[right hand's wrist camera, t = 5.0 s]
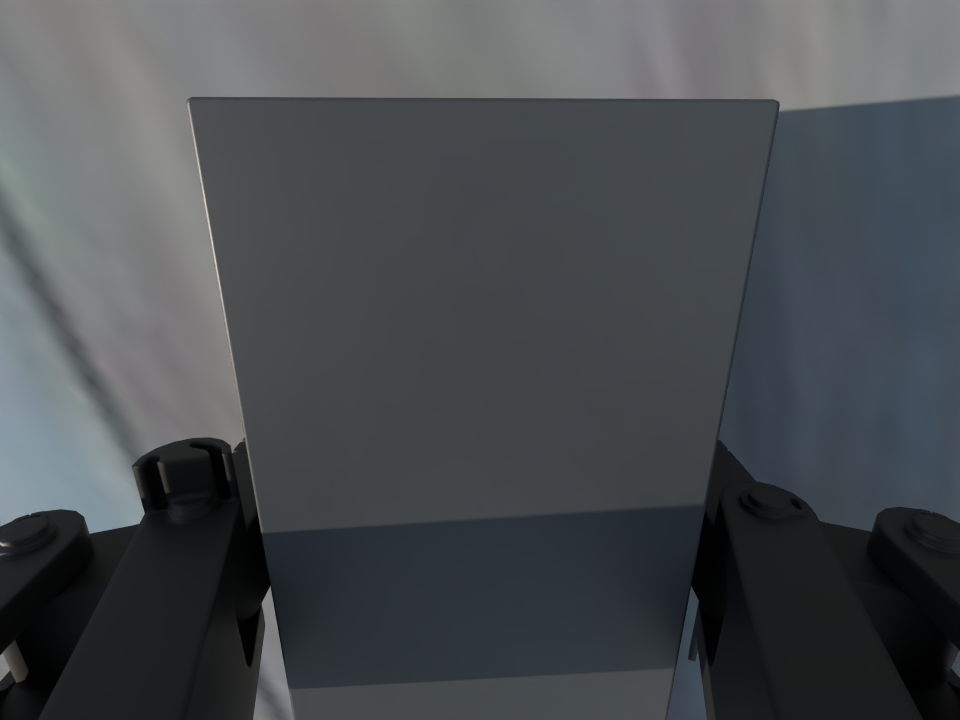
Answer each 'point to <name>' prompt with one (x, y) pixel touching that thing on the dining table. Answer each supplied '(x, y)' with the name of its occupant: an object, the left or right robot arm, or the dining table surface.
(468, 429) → the bar
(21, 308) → the dining table surface
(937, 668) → the right robot arm
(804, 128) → the dining table surface
